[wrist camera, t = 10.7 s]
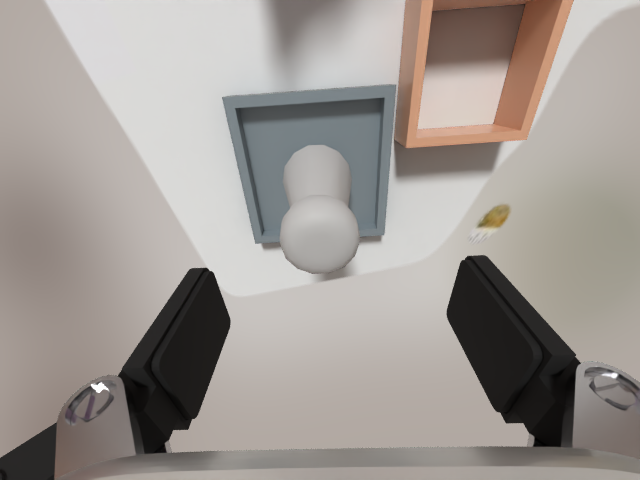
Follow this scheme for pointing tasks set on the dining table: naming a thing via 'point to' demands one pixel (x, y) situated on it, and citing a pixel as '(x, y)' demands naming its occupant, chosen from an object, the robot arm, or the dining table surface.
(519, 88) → the open box
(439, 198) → the dining table surface
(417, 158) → the dining table surface
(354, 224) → the salt shaker
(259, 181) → the tray
